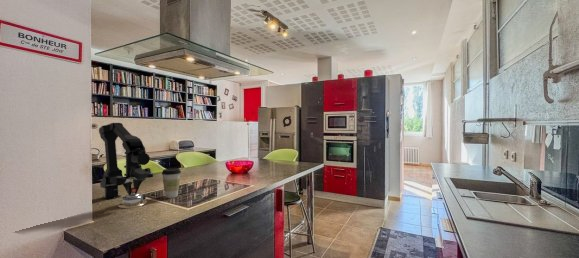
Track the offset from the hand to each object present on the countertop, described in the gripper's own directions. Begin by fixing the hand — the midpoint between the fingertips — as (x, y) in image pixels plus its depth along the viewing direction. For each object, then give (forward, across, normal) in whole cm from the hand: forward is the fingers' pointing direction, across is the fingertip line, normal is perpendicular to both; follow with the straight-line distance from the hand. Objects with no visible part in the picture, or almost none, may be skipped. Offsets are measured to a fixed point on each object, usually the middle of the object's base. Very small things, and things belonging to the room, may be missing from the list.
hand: (132, 194), depth 124 cm
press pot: (+5, 0, 0) cm, 5 cm away
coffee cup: (+5, +18, -6) cm, 20 cm away
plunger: (+1, 0, 0) cm, 1 cm away
